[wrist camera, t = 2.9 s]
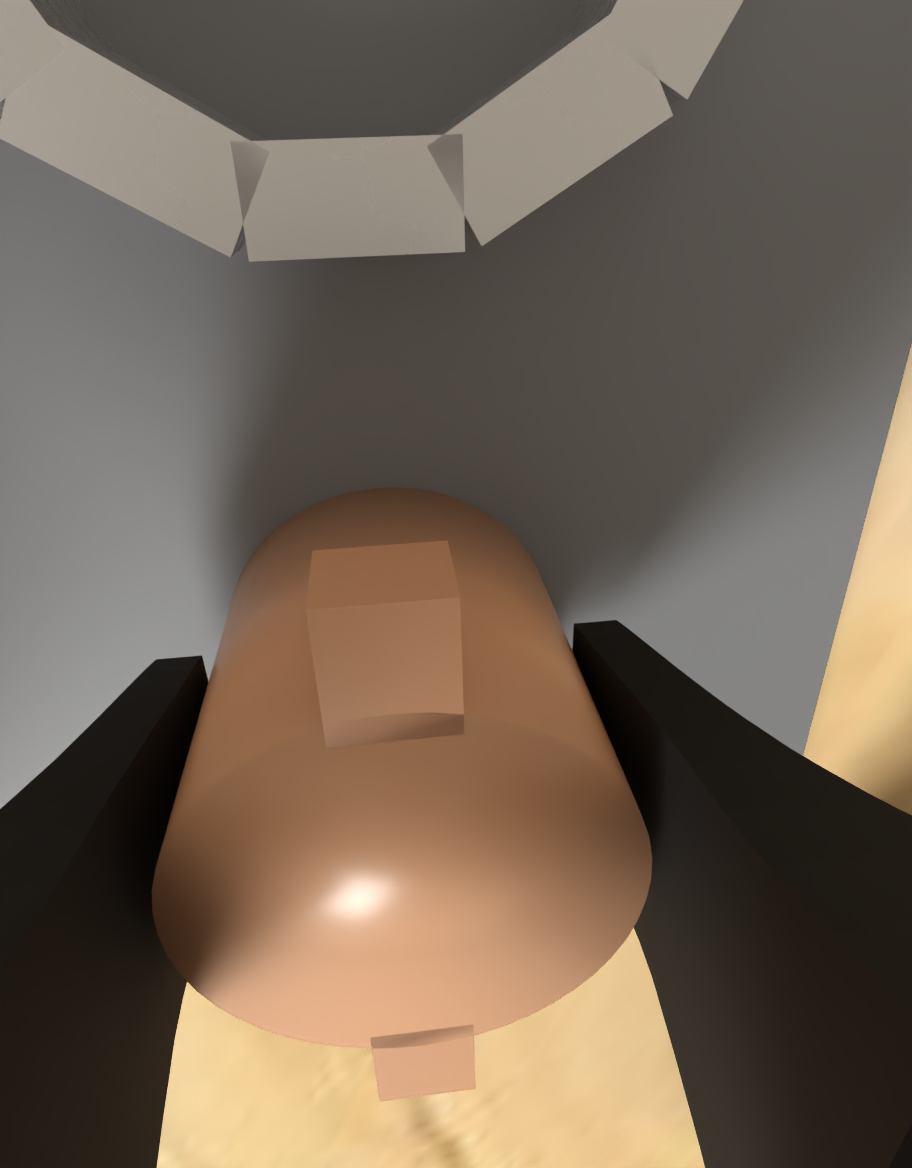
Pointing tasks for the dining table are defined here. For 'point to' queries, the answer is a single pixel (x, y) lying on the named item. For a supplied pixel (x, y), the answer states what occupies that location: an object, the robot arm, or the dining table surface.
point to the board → (467, 353)
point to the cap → (397, 795)
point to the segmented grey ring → (348, 165)
